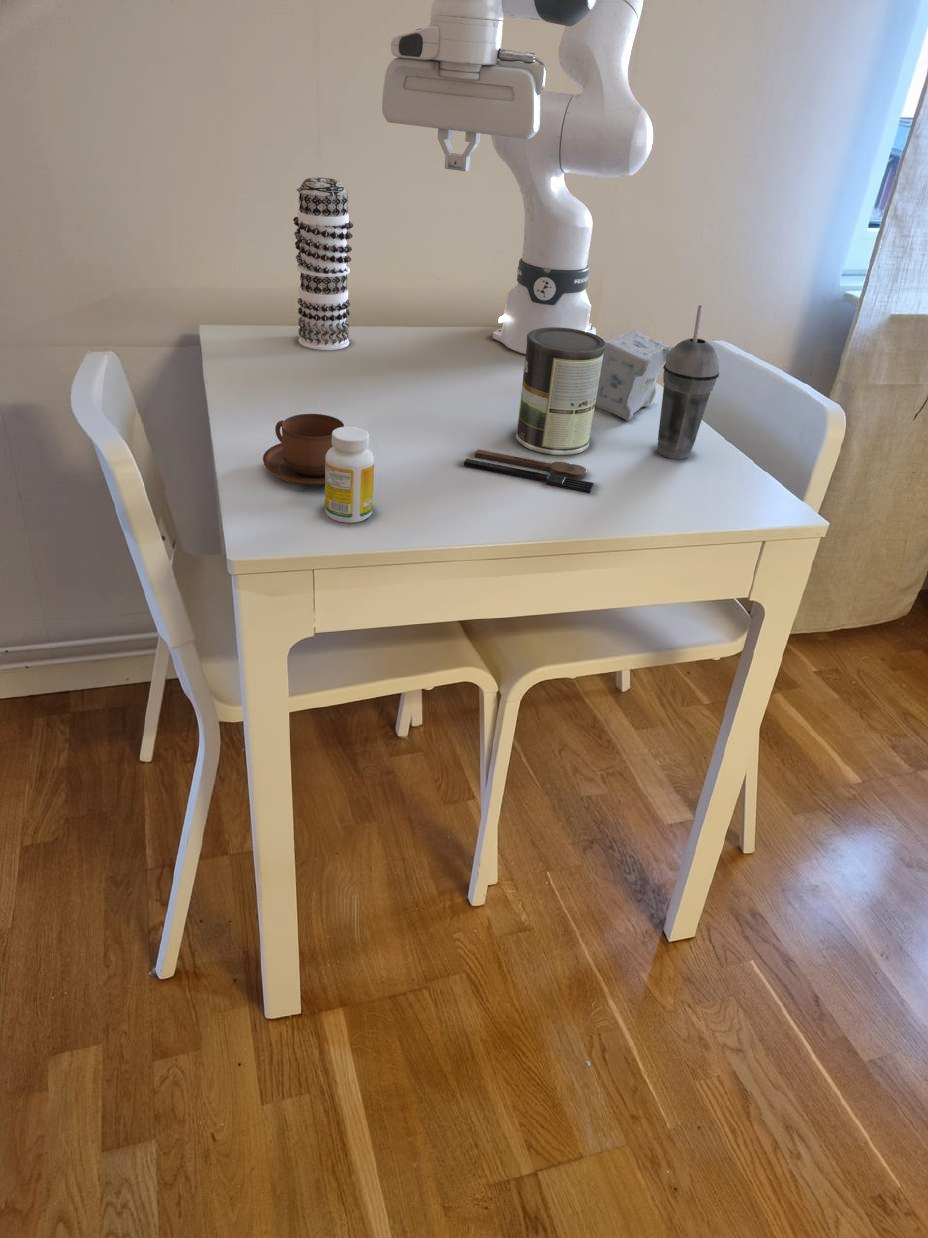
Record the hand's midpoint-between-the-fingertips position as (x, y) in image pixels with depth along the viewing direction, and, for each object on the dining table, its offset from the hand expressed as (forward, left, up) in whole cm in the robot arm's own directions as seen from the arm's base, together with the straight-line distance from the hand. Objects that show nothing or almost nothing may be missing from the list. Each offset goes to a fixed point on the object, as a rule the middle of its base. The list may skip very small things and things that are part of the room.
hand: (456, 169), depth 121 cm
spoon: (+18, +18, -31) cm, 40 cm away
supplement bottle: (+40, +2, -31) cm, 51 cm away
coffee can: (+8, +19, -31) cm, 37 cm away
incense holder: (-10, +26, -31) cm, 42 cm away
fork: (+21, +18, -31) cm, 42 cm away
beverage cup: (+4, +35, -31) cm, 47 cm away
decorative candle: (-16, -26, -31) cm, 44 cm away
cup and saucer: (+32, -6, -31) cm, 45 cm away
